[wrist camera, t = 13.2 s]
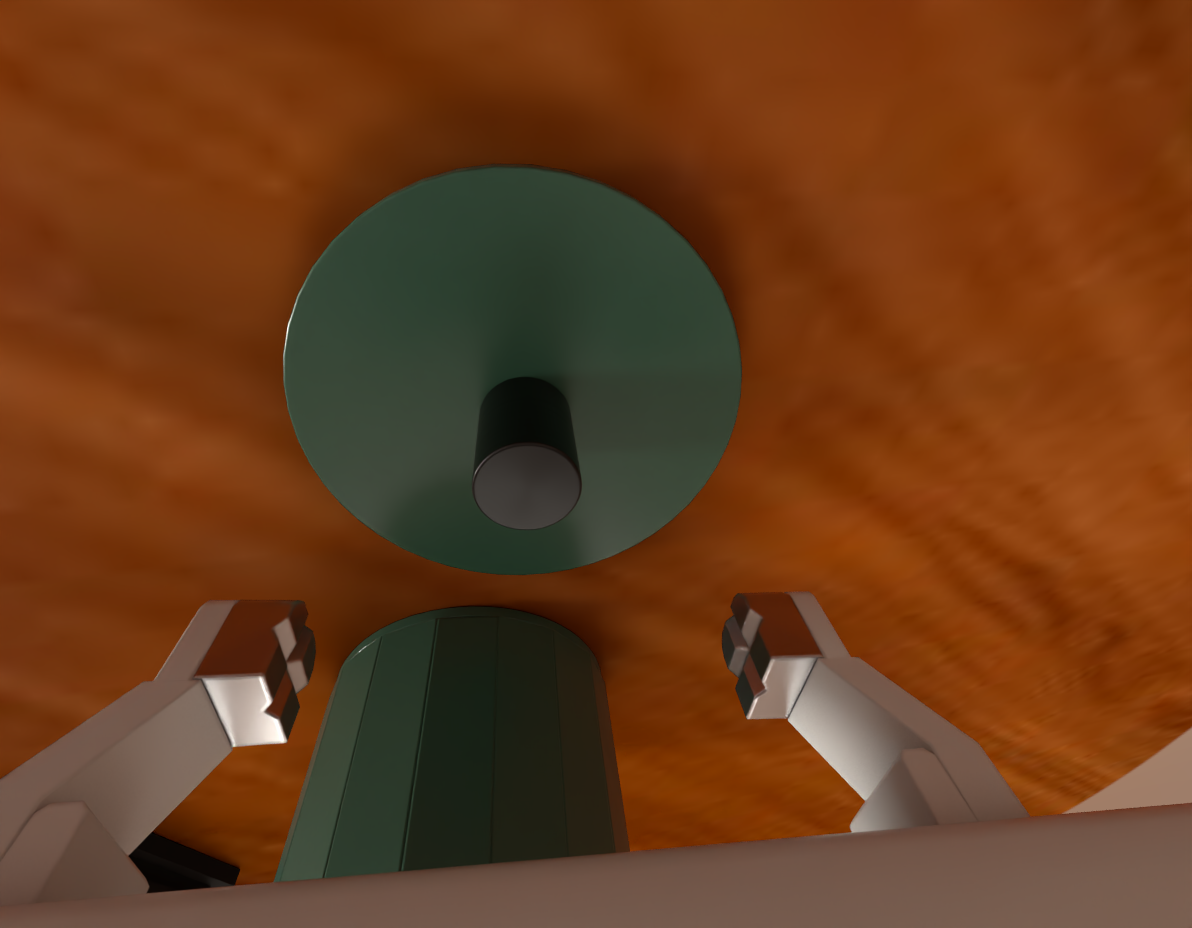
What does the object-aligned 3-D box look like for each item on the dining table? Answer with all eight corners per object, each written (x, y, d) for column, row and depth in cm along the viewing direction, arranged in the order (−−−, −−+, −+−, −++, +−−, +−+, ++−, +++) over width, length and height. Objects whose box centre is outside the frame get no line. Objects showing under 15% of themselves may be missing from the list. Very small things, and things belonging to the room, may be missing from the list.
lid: (242, 135, 12) (119, 158, 9) (778, 182, 14) (875, 218, 10) (339, 555, 20) (295, 670, 16) (688, 549, 21) (726, 651, 18)
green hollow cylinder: (312, 610, 21) (190, 923, 13) (614, 601, 23) (666, 873, 15) (357, 770, 27) (294, 1044, 19) (590, 754, 29) (618, 998, 21)
